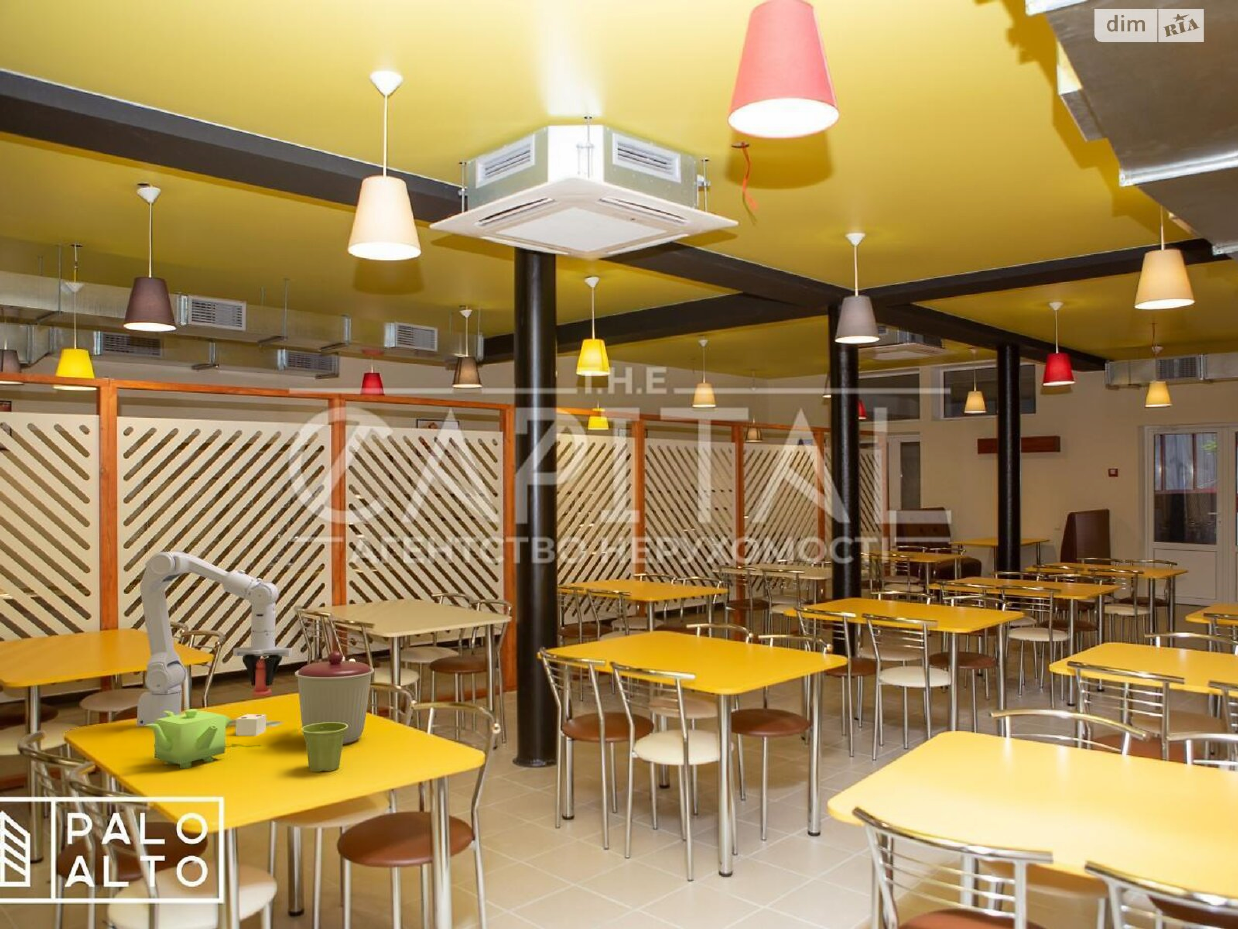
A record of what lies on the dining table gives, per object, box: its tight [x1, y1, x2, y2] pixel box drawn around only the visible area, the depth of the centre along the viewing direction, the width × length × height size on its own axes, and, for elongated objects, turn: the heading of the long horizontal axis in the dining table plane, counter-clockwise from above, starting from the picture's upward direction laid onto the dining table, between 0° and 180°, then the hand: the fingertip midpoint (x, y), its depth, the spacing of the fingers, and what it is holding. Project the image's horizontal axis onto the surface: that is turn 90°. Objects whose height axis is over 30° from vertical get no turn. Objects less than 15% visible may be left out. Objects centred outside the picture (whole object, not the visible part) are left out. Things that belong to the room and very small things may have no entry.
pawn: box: [251, 657, 272, 697], centre depth 229 cm, size 5×5×9 cm
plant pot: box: [301, 722, 348, 773], centre depth 192 cm, size 9×9×9 cm
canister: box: [294, 650, 375, 745], centre depth 216 cm, size 18×18×21 cm
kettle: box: [144, 708, 232, 769], centre depth 196 cm, size 15×14×11 cm
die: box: [235, 713, 267, 737], centre depth 218 cm, size 5×5×5 cm
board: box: [228, 719, 285, 727], centre depth 228 cm, size 23×7×1 cm, turn 86°
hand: (261, 685), depth 229 cm, fingers closed on pawn, 3 cm apart
